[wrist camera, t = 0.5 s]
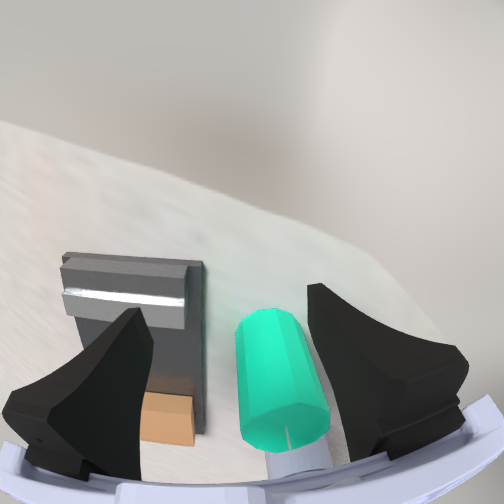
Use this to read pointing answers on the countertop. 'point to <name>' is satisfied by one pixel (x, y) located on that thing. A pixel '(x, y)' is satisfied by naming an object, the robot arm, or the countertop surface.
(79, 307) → the dark grey flat block
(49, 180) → the countertop surface
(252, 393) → the candle
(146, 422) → the tan flat block
